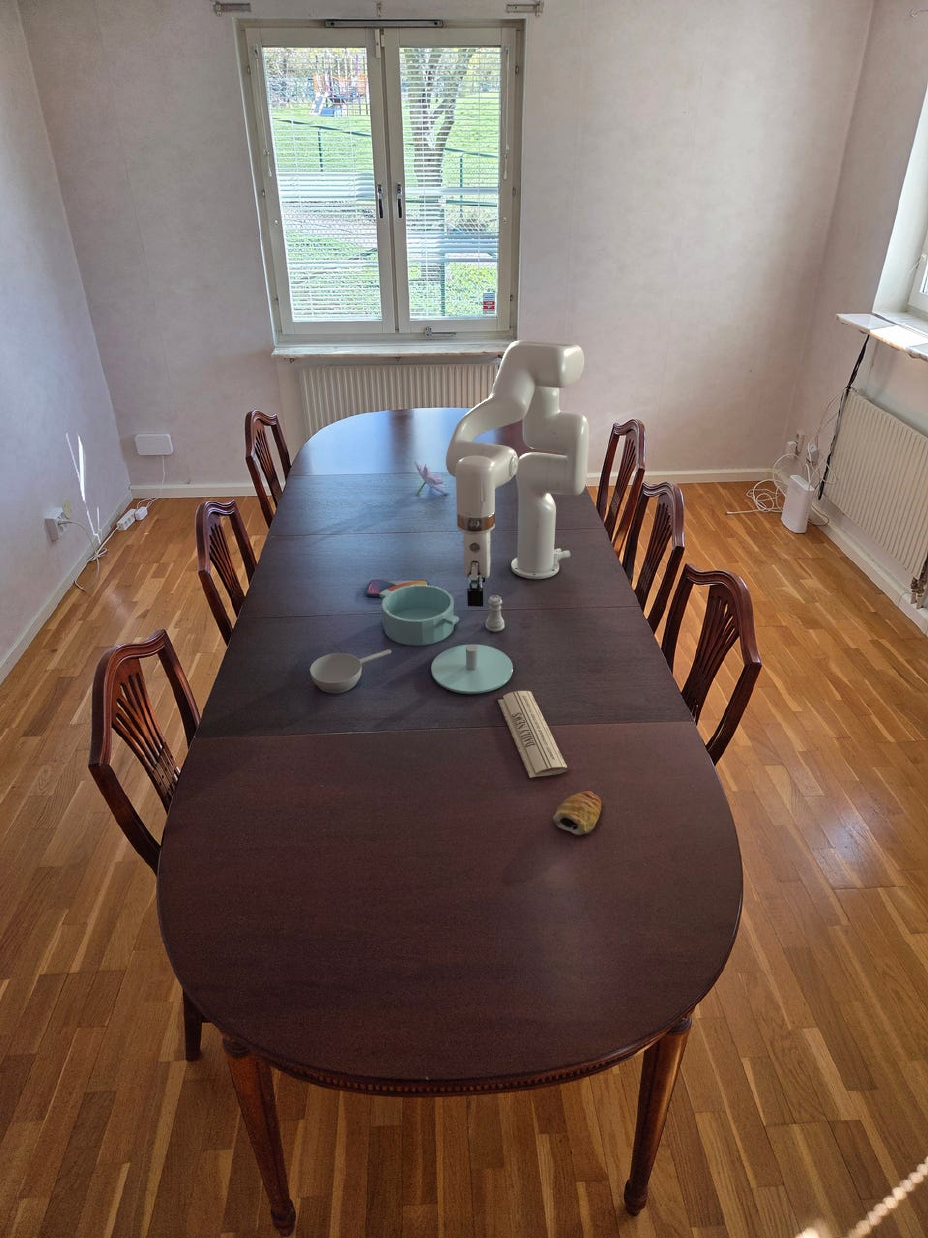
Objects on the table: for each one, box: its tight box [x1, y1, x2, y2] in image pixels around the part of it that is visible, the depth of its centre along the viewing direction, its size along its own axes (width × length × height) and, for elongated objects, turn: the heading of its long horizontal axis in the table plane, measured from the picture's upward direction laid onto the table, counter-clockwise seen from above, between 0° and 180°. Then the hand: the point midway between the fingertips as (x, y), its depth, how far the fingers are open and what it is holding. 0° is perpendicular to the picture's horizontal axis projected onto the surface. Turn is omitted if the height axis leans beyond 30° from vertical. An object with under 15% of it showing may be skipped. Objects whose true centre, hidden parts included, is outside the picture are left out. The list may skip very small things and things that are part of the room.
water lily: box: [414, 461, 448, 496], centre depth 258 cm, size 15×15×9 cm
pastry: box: [552, 790, 602, 836], centre depth 139 cm, size 9×7×4 cm
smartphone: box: [366, 579, 429, 598], centre depth 207 cm, size 7×15×1 cm, turn 85°
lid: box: [430, 643, 514, 695], centre depth 175 cm, size 18×18×6 cm
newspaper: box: [497, 690, 568, 779], centre depth 158 cm, size 24×7×2 cm, turn 12°
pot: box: [379, 584, 460, 646], centre depth 191 cm, size 17×22×6 cm
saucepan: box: [309, 649, 392, 694], centre depth 175 cm, size 11×18×4 cm, turn 118°
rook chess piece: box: [485, 594, 505, 633], centre depth 189 cm, size 4×4×8 cm
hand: (476, 593), depth 170 cm, fingers open, 9 cm apart
